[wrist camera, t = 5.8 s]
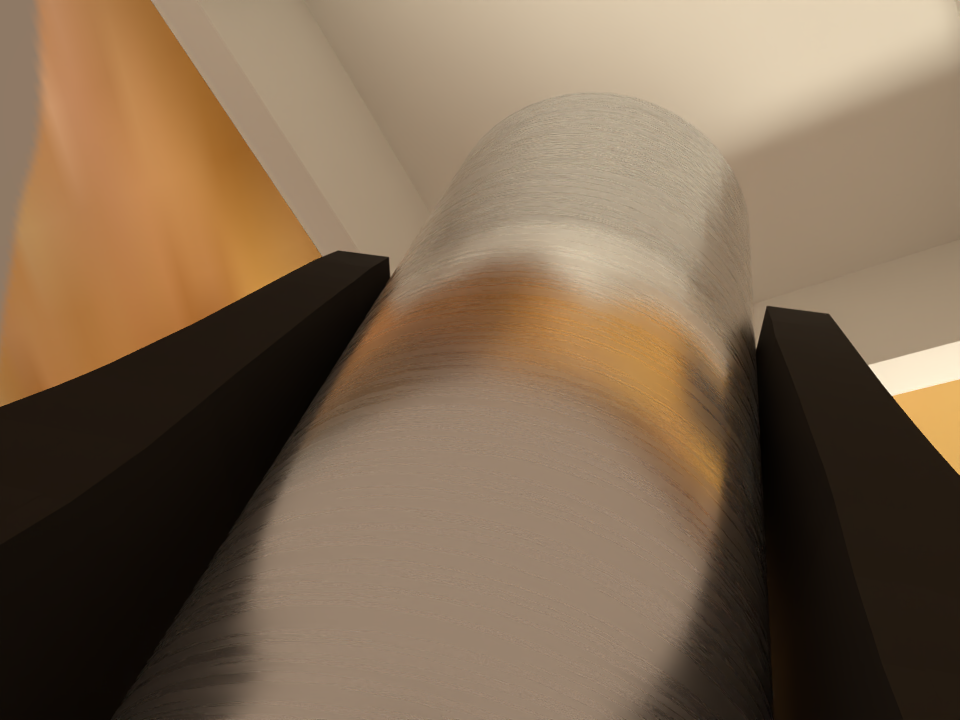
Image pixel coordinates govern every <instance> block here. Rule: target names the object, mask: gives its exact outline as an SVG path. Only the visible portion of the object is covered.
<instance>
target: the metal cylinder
mask: <svg viewBox="0 0 960 720" xmlns="http://www.w3.org/2000/svg"><path fill="white" fill-rule="evenodd" d="M111 720H774V704H773V684H772V664H771V644H770V624H769V604H768V584H767V564H766V544H765V524H764V504H763V484H762V464H761V444H760V424H759V404H758V384H757V364H756V344H755V323H754V303H753V283H752V263H751V243H750V226H749V218H748V211H747V206H746V203H745V199H744V196H743V192H742V189H741V187H740V185H739V183H738V180H737V178H736V176H735V174H734V172H733V170H732V169H731V167H730V166H729V164H728V163H727V161H726V159H725V158H724V156H723V155H722V154H721V152H720V151H719V150H718V149H717V148H716V147H715V146H714V145H713V143H712V142H711V141H710V140H709V139H708V138H707V137H706V136H705V135H704V134H702V133H701V132H700V131H699V130H698V129H697V128H695V127H694V126H693V125H692V124H690V123H689V122H687V121H686V120H684V119H682V118H681V117H679V116H678V115H676V114H675V113H673V112H671V111H669V110H666V109H664V108H662V107H660V106H658V105H656V104H653V103H650V102H647V101H644V100H641V99H638V98H635V97H630V96H625V95H619V94H613V93H597V92H585V93H573V94H565V95H561V96H556V97H552V98H547V99H544V100H542V101H539V102H536V103H533V104H531V105H528V106H526V107H524V108H522V109H520V110H518V111H516V112H515V113H513V114H511V115H509V116H508V117H506V118H505V119H504V120H502V121H501V122H499V123H498V124H497V125H495V126H494V127H493V128H492V129H491V130H490V131H489V132H487V133H486V134H485V135H484V136H483V137H482V138H481V139H480V140H479V141H478V143H477V144H476V145H475V147H474V148H473V149H472V150H471V152H470V153H469V154H468V156H467V157H466V159H465V160H464V162H463V164H462V165H461V167H460V168H459V170H458V172H457V173H456V175H455V176H454V178H453V179H452V181H451V183H450V184H449V186H448V187H447V189H446V191H445V192H444V194H443V195H442V197H441V198H440V200H439V202H438V203H437V205H436V206H435V208H434V209H433V211H432V213H431V214H430V216H429V217H428V219H427V221H426V222H425V224H424V225H423V227H422V228H421V230H420V232H419V233H418V235H417V236H416V238H415V240H414V241H413V243H412V244H411V246H410V247H409V249H408V251H407V252H406V254H405V255H404V257H403V258H402V260H401V262H400V263H399V265H398V266H397V268H396V270H395V271H394V273H393V274H392V276H391V277H390V279H389V281H388V282H387V284H386V285H385V287H384V289H383V290H382V292H381V293H380V295H379V296H378V298H377V300H376V301H375V303H374V304H373V306H372V308H371V309H370V311H369V312H368V314H367V315H366V317H365V319H364V320H363V322H362V323H361V325H360V326H359V328H358V330H357V331H356V333H355V334H354V336H353V338H352V339H351V341H350V342H349V344H348V345H347V347H346V349H345V350H344V352H343V353H342V355H341V357H340V358H339V360H338V361H337V363H336V364H335V366H334V368H333V369H332V371H331V372H330V374H329V376H328V377H327V379H326V380H325V382H324V383H323V385H322V387H321V388H320V390H319V391H318V393H317V394H316V396H315V398H314V399H313V401H312V402H311V404H310V406H309V407H308V409H307V410H306V412H305V413H304V415H303V417H302V418H301V420H300V421H299V423H298V425H297V426H296V428H295V429H294V431H293V432H292V434H291V436H290V437H289V439H288V440H287V442H286V444H285V445H284V447H283V448H282V450H281V451H280V453H279V455H278V456H277V458H276V459H275V461H274V462H273V464H272V466H271V467H270V469H269V470H268V472H267V474H266V475H265V477H264V478H263V480H262V481H261V483H260V485H259V486H258V488H257V489H256V491H255V493H254V494H253V496H252V497H251V499H250V500H249V502H248V504H247V505H246V507H245V508H244V510H243V511H242V513H241V515H240V516H239V518H238V519H237V521H236V523H235V524H234V526H233V527H232V529H231V530H230V532H229V534H228V535H227V537H226V538H225V540H224V542H223V543H222V545H221V546H220V548H219V549H218V551H217V553H216V554H215V556H214V557H213V559H212V561H211V562H210V564H209V565H208V567H207V568H206V570H205V572H204V573H203V575H202V576H201V578H200V579H199V581H198V583H197V584H196V586H195V587H194V589H193V591H192V592H191V594H190V595H189V597H188V598H187V600H186V602H185V603H184V605H183V606H182V608H181V610H180V611H179V613H178V614H177V616H176V617H175V619H174V621H173V622H172V624H171V625H170V627H169V629H168V630H167V632H166V633H165V635H164V636H163V638H162V640H161V641H160V643H159V644H158V646H157V647H156V649H155V651H154V652H153V654H152V655H151V657H150V659H149V660H148V662H147V663H146V665H145V666H144V668H143V670H142V671H141V673H140V674H139V676H138V678H137V679H136V681H135V682H134V684H133V685H132V687H131V689H130V690H129V692H128V693H127V695H126V697H125V698H124V700H123V701H122V703H121V704H120V706H119V708H118V709H117V711H116V712H115V714H114V715H113V717H112V719H111Z"/></svg>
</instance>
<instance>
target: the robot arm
mask: <svg viewBox="0 0 960 720" xmlns="http://www.w3.org/2000/svg"><path fill="white" fill-rule="evenodd" d="M389 279H390V264H389V257H386V256H378V255H370V254H362V253H355V252H347V251H339V250H338V251H335V252H333V253H330V254H328V255H325V256H323V257H321V258H319V259H316V260H314V261H312V262H310V263H308V264H306V265H304V266H302V267H300V268H298V269H296V270H294V271H293V272H291V273H289V274H287V275H285V276H283V277H281V278H279V279H277V280H276V281H274V282H272V283H270V284H268V285H266V286H264V287H262V288H261V289H259V290H257V291H255V292H253V293H251V294H249V295H247V296H245V297H243V298H242V299H240V300H238V301H236V302H234V303H232V304H230V305H228V306H226V307H224V308H223V309H221V310H219V311H217V312H215V313H213V314H211V315H209V316H207V317H205V318H204V319H202V320H200V321H198V322H196V323H194V324H192V325H190V326H188V327H186V328H183V329H181V330H179V331H177V332H175V333H173V334H171V335H169V336H167V337H164V338H162V339H160V340H158V341H156V342H154V343H152V344H150V345H148V346H146V347H143V348H141V349H139V350H137V351H135V352H133V353H131V354H129V355H127V356H125V357H122V358H120V359H118V360H116V361H114V362H112V363H110V364H108V365H105V366H103V367H101V368H98V369H96V370H94V371H91V372H89V373H87V374H84V375H82V376H79V377H77V378H75V379H72V380H70V381H67V382H65V383H62V384H60V385H57V386H55V387H52V388H50V389H47V390H44V391H42V392H39V393H36V394H34V395H31V396H28V397H26V398H23V399H20V400H18V401H15V402H12V403H10V404H7V405H4V406H2V407H0V720H111V719H112V717H113V715H114V714H115V712H116V711H117V709H118V708H119V706H120V704H121V703H122V701H123V700H124V698H125V697H126V695H127V693H128V692H129V690H130V689H131V687H132V685H133V684H134V682H135V681H136V679H137V678H138V676H139V674H140V673H141V671H142V670H143V668H144V666H145V665H146V663H147V662H148V660H149V659H150V657H151V655H152V654H153V652H154V651H155V649H156V647H157V646H158V644H159V643H160V641H161V640H162V638H163V636H164V635H165V633H166V632H167V630H168V629H169V627H170V625H171V624H172V622H173V621H174V619H175V617H176V616H177V614H178V613H179V611H180V610H181V608H182V606H183V605H184V603H185V602H186V600H187V598H188V597H189V595H190V594H191V592H192V591H193V589H194V587H195V586H196V584H197V583H198V581H199V579H200V578H201V576H202V575H203V573H204V572H205V570H206V568H207V567H208V565H209V564H210V562H211V561H212V559H213V557H214V556H215V554H216V553H217V551H218V549H219V548H220V546H221V545H222V543H223V542H224V540H225V538H226V537H227V535H228V534H229V532H230V530H231V529H232V527H233V526H234V524H235V523H236V521H237V519H238V518H239V516H240V515H241V513H242V511H243V510H244V508H245V507H246V505H247V504H248V502H249V500H250V499H251V497H252V496H253V494H254V493H255V491H256V489H257V488H258V486H259V485H260V483H261V481H262V480H263V478H264V477H265V475H266V474H267V472H268V470H269V469H270V467H271V466H272V464H273V462H274V461H275V459H276V458H277V456H278V455H279V453H280V451H281V450H282V448H283V447H284V445H285V444H286V442H287V440H288V439H289V437H290V436H291V434H292V432H293V431H294V429H295V428H296V426H297V425H298V423H299V421H300V420H301V418H302V417H303V415H304V413H305V412H306V410H307V409H308V407H309V406H310V404H311V402H312V401H313V399H314V398H315V396H316V394H317V393H318V391H319V390H320V388H321V387H322V385H323V383H324V382H325V380H326V379H327V377H328V376H329V374H330V372H331V371H332V369H333V368H334V366H335V364H336V363H337V361H338V360H339V358H340V357H341V355H342V353H343V352H344V350H345V349H346V347H347V345H348V344H349V342H350V341H351V339H352V338H353V336H354V334H355V333H356V331H357V330H358V328H359V326H360V325H361V323H362V322H363V320H364V319H365V317H366V315H367V314H368V312H369V311H370V309H371V308H372V306H373V304H374V303H375V301H376V300H377V298H378V296H379V295H380V293H381V292H382V290H383V289H384V287H385V285H386V284H387V282H388V281H389ZM756 364H757V384H758V404H759V424H760V444H761V464H762V484H763V504H764V524H765V544H766V564H767V584H768V604H769V624H770V644H771V664H772V684H773V704H774V720H960V475H959V474H958V473H957V472H956V471H955V470H954V469H953V468H952V467H951V466H950V464H949V463H948V462H947V461H946V460H945V459H944V458H943V457H942V455H941V454H940V453H939V452H938V451H937V450H936V449H935V448H934V446H933V445H932V444H931V443H930V442H929V441H928V439H927V438H926V437H925V436H924V435H923V434H922V432H921V431H920V430H919V429H918V428H917V426H916V425H915V424H914V423H913V422H912V420H911V419H910V418H909V417H908V416H907V414H906V413H905V412H904V411H903V409H902V408H901V407H900V406H899V405H898V403H897V402H896V401H895V399H894V398H893V397H892V396H891V394H890V393H889V392H888V391H887V389H886V388H885V387H884V386H883V384H882V383H881V382H880V380H879V379H878V378H877V376H876V375H875V374H874V373H873V371H872V370H871V369H870V367H869V366H868V365H867V363H866V362H865V361H864V359H863V358H862V357H861V355H860V354H859V353H858V351H857V350H856V349H855V347H854V346H853V345H852V343H851V342H850V341H849V339H848V338H847V337H846V335H845V334H844V333H843V331H842V330H841V329H840V327H839V326H838V325H837V323H836V322H835V321H834V319H833V318H832V317H831V316H830V314H827V313H819V312H812V311H804V310H796V309H788V308H781V307H773V306H766V311H765V315H764V319H763V323H762V327H761V331H760V336H759V340H758V344H757V348H756Z"/></svg>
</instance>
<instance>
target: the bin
mask: <svg viewBox="0 0 960 720" xmlns="http://www.w3.org/2000/svg"><path fill="white" fill-rule="evenodd" d="M151 1H152V3H153V4H154V6H155V7H156V9H157V10H158V12H159V13H160V15H161V16H162V18H163V19H164V20H165V22H166V23H167V25H168V26H169V28H170V29H171V31H172V32H173V34H174V35H175V37H176V38H177V40H178V41H179V43H180V44H181V46H182V47H183V49H184V50H185V52H186V53H187V55H188V56H189V58H190V59H191V61H192V62H193V64H194V65H195V67H196V68H197V70H198V71H199V73H200V74H201V76H202V77H203V79H204V80H205V82H206V83H207V85H208V86H209V88H210V89H211V91H212V92H213V94H214V95H215V97H216V98H217V100H218V101H219V103H220V104H221V106H222V107H223V109H224V110H225V112H226V113H227V115H228V116H229V118H230V119H231V121H232V122H233V124H234V125H235V127H236V128H237V130H238V131H239V133H240V134H241V136H242V137H243V139H244V140H245V142H246V143H247V145H248V146H249V148H250V149H251V151H252V152H253V153H254V155H255V156H256V158H257V159H258V161H259V162H260V164H261V165H262V167H263V168H264V170H265V171H266V173H267V174H268V176H269V177H270V179H271V180H272V182H273V183H274V185H275V186H276V188H277V189H278V191H279V192H280V194H281V195H282V197H283V198H284V200H285V201H286V203H287V204H288V206H289V207H290V209H291V210H292V212H293V213H294V215H295V216H296V218H297V219H298V221H299V222H300V224H301V225H302V227H303V228H304V230H305V231H306V233H307V234H308V236H309V237H310V239H311V240H312V242H313V243H314V245H315V246H316V248H317V249H318V251H319V252H320V254H321V255H322V257H323V256H325V255H328V254H330V253H333V252H335V251H338V250H339V251H347V252H355V253H362V254H370V255H378V256H386V257H389V264H390V277H391V276H392V274H393V273H394V271H395V270H396V268H397V266H398V265H399V263H400V262H401V260H402V258H403V257H404V255H405V254H406V252H407V251H408V249H409V247H410V246H411V244H412V243H413V241H414V240H415V238H416V236H417V235H418V233H419V232H420V230H421V228H422V227H423V225H424V224H425V222H426V221H427V219H428V217H429V216H430V214H431V213H432V211H433V209H434V208H435V206H436V205H437V203H438V202H439V200H440V198H441V197H442V195H443V194H444V192H445V191H446V189H447V187H448V186H449V184H450V183H451V181H452V179H453V178H454V176H455V175H456V173H457V172H458V170H459V168H460V167H461V165H462V164H463V162H464V160H465V159H466V157H467V156H468V154H469V153H470V152H471V150H472V149H473V148H474V147H475V145H476V144H477V143H478V141H479V140H480V139H481V138H482V137H483V136H484V135H485V134H486V133H487V132H489V131H490V130H491V129H492V128H493V127H494V126H495V125H497V124H498V123H499V122H501V121H502V120H504V119H505V118H506V117H508V116H509V115H511V114H513V113H515V112H516V111H518V110H520V109H522V108H524V107H526V106H528V105H531V104H533V103H536V102H539V101H542V100H544V99H547V98H552V97H556V96H561V95H565V94H573V93H585V92H597V93H613V94H619V95H625V96H630V97H635V98H638V99H641V100H644V101H647V102H650V103H653V104H656V105H658V106H660V107H662V108H664V109H666V110H669V111H671V112H673V113H675V114H676V115H678V116H679V117H681V118H682V119H684V120H686V121H687V122H689V123H690V124H692V125H693V126H694V127H695V128H697V129H698V130H699V131H700V132H701V133H702V134H704V135H705V136H706V137H707V138H708V139H709V140H710V141H711V142H712V143H713V145H714V146H715V147H716V148H717V149H718V150H719V151H720V152H721V154H722V155H723V156H724V158H725V159H726V161H727V163H728V164H729V166H730V167H731V169H732V170H733V172H734V174H735V176H736V178H737V180H738V183H739V185H740V187H741V189H742V192H743V196H744V199H745V203H746V206H747V211H748V218H749V226H750V243H751V263H752V283H753V303H754V323H755V344H756V348H757V344H758V340H759V336H760V331H761V327H762V323H763V319H764V315H765V311H766V306H773V307H781V308H788V309H796V310H804V311H812V312H819V313H827V314H830V316H831V317H832V318H833V319H834V321H835V322H836V323H837V325H838V326H839V327H840V329H841V330H842V331H843V333H844V334H845V335H846V337H847V338H848V339H849V341H850V342H851V343H852V345H853V346H854V347H855V349H856V350H857V351H858V353H859V354H860V355H861V357H862V358H863V359H864V361H865V362H866V363H867V365H868V366H869V367H870V369H871V370H872V371H873V373H874V374H875V375H876V376H877V378H878V379H879V380H880V382H881V383H882V384H883V386H884V387H885V388H886V389H887V391H888V392H889V393H890V394H891V396H893V395H897V394H901V393H905V392H909V391H913V390H917V389H921V388H925V387H930V386H934V385H938V384H942V383H946V382H950V381H954V380H958V379H960V0H151Z"/></svg>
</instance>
